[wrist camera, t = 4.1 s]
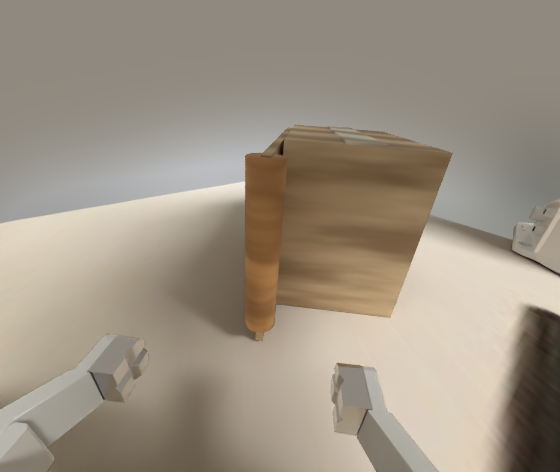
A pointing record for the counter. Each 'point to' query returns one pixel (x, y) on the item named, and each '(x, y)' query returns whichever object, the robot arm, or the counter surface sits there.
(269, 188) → the carton flap
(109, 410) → the counter surface
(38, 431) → the robot arm
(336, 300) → the carton
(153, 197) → the counter surface
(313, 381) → the counter surface
